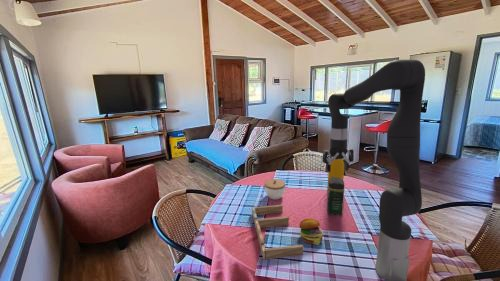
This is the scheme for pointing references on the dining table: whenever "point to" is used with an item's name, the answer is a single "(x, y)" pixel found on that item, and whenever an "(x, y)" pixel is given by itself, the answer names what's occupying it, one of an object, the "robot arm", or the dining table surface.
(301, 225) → the cheeseburger
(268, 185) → the lidded bowl
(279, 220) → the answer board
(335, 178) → the coffee jar
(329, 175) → the beer bottle
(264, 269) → the dining table surface
